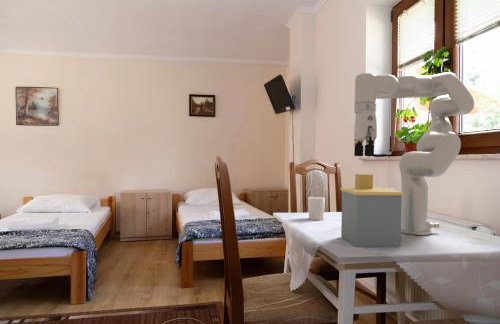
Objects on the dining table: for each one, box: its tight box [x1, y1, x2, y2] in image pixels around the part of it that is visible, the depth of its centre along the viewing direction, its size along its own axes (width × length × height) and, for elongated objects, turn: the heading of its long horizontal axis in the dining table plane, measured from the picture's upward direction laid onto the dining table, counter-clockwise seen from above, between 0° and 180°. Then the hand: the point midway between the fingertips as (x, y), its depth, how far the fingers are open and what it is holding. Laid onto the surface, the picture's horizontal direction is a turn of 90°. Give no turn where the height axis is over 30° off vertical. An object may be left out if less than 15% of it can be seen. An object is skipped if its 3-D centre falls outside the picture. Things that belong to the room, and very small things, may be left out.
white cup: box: [307, 196, 326, 221], centre depth 175 cm, size 8×8×10 cm
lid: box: [339, 173, 404, 195], centre depth 131 cm, size 16×16×6 cm
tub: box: [340, 191, 402, 248], centre depth 131 cm, size 15×15×17 cm
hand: (363, 156), depth 136 cm, fingers open, 9 cm apart
